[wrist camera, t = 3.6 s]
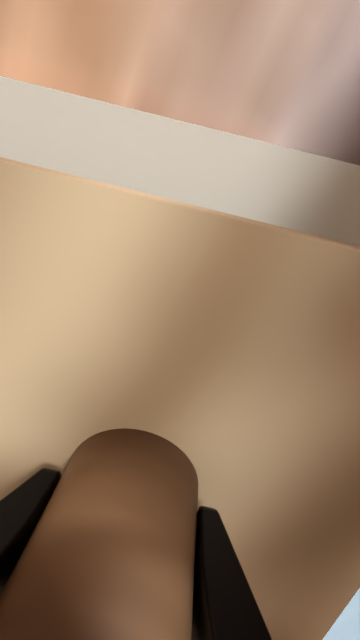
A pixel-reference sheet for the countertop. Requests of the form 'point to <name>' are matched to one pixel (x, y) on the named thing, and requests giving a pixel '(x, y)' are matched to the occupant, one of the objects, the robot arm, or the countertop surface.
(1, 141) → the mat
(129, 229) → the board
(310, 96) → the countertop surface
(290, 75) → the countertop surface
